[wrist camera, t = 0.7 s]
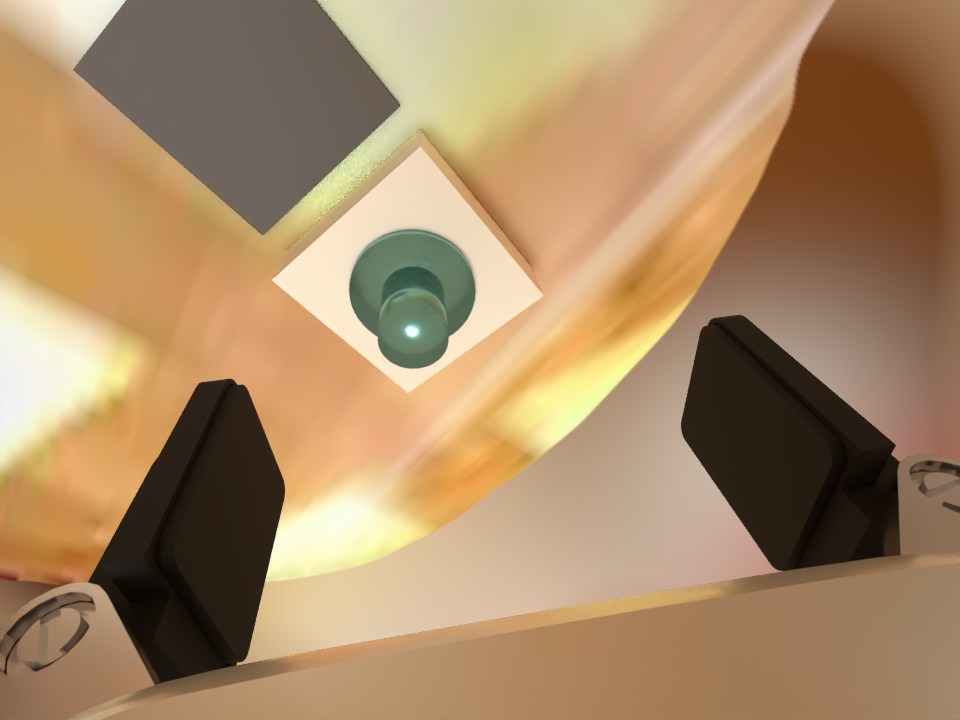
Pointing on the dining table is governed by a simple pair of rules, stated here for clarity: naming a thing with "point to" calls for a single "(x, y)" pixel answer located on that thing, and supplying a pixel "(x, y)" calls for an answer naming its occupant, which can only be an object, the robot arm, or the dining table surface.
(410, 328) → the end cover
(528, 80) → the dining table surface
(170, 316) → the dining table surface
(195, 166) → the mat
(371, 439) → the dining table surface
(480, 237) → the housing
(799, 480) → the robot arm
